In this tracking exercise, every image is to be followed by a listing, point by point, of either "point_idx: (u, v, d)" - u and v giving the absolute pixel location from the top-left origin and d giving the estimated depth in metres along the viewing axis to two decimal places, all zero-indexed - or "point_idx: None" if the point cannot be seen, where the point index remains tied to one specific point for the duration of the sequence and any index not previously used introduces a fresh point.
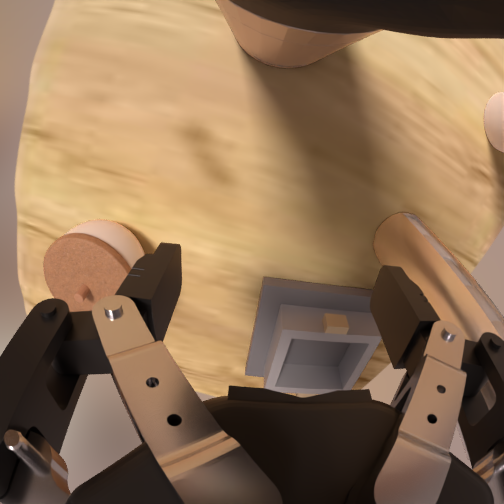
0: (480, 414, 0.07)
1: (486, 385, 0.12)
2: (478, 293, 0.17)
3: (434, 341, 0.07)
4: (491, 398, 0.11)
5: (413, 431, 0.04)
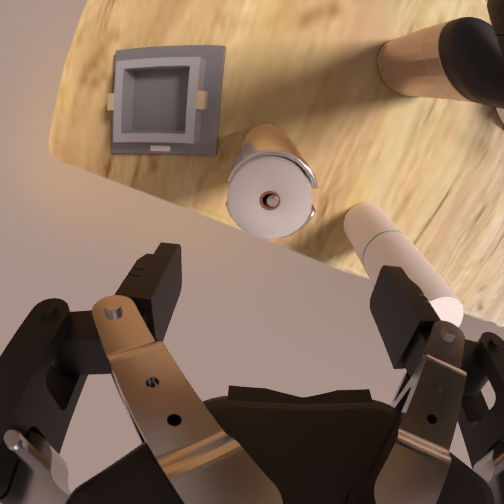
0: (480, 414, 0.07)
1: (296, 152, 0.22)
2: None
3: (434, 341, 0.07)
4: (297, 153, 0.21)
5: (413, 431, 0.04)
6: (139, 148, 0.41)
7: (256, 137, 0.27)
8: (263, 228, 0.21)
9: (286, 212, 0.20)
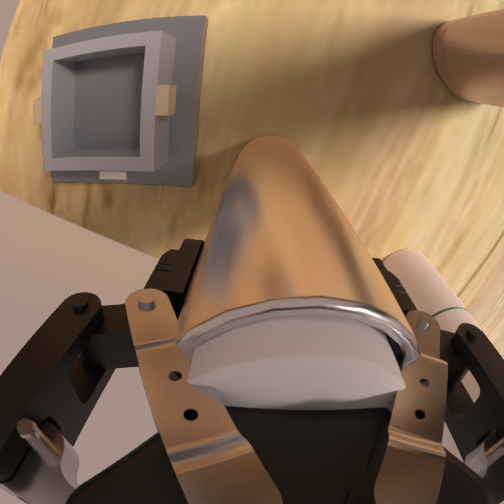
0: (464, 405, 0.07)
1: (360, 249, 0.08)
2: None
3: None
4: (369, 265, 0.07)
5: (403, 429, 0.04)
6: (85, 175, 0.27)
7: (253, 179, 0.13)
8: None
9: None
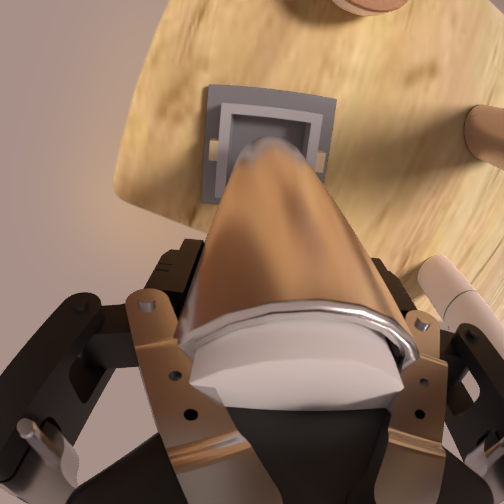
0: (464, 405, 0.07)
1: (360, 252, 0.08)
2: None
3: None
4: (369, 268, 0.07)
5: (403, 429, 0.04)
6: None
7: (253, 181, 0.13)
8: None
9: None
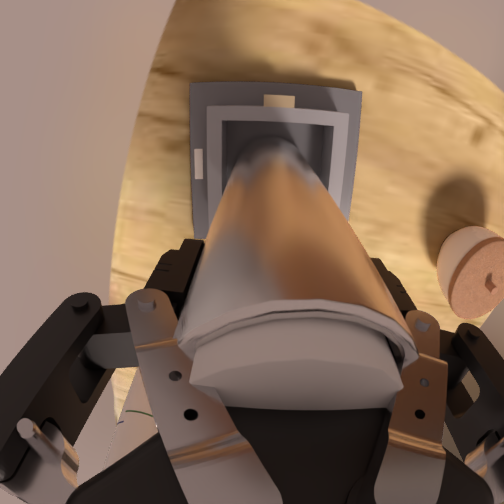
0: (464, 405, 0.07)
1: (360, 252, 0.08)
2: None
3: None
4: (369, 267, 0.07)
5: (403, 429, 0.04)
6: (197, 130, 0.27)
7: (253, 181, 0.13)
8: None
9: None
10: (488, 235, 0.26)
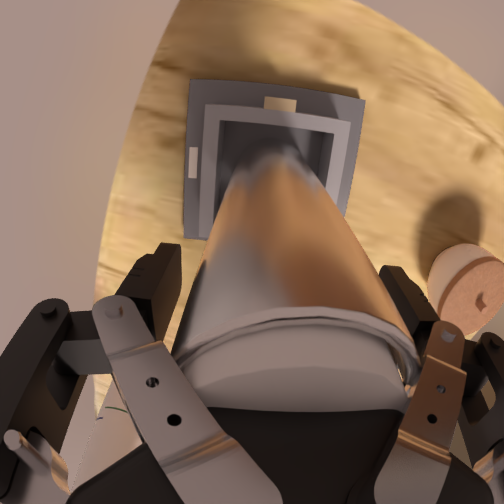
0: (480, 414, 0.07)
1: (361, 256, 0.08)
2: None
3: (434, 341, 0.07)
4: (370, 273, 0.07)
5: (413, 431, 0.04)
6: (194, 128, 0.26)
7: (254, 184, 0.13)
8: None
9: None
10: (482, 255, 0.26)
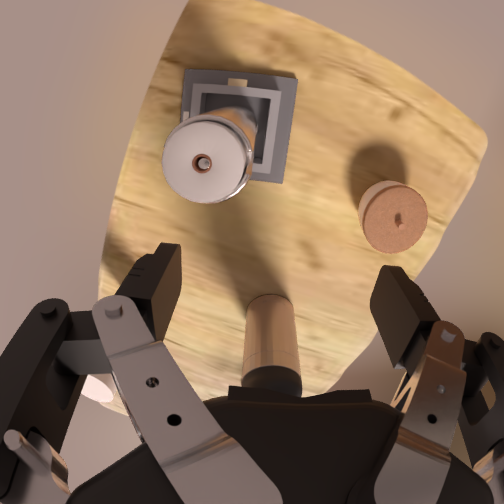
0: (480, 414, 0.07)
1: (237, 119, 0.22)
2: None
3: (434, 341, 0.07)
4: (236, 120, 0.21)
5: (413, 431, 0.04)
6: (186, 99, 0.39)
7: None
8: (197, 191, 0.20)
9: (218, 175, 0.20)
10: (396, 184, 0.40)
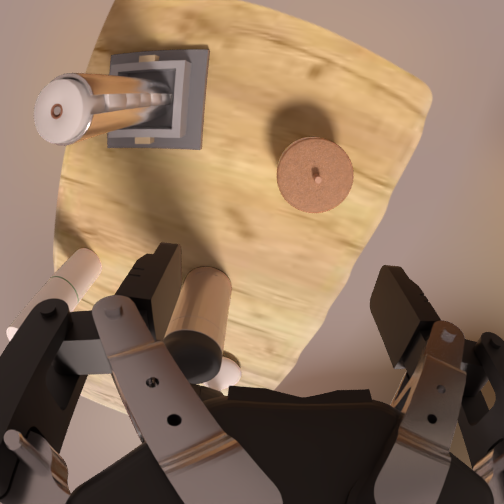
0: (480, 414, 0.07)
1: (97, 76, 0.21)
2: (137, 105, 0.29)
3: (434, 341, 0.07)
4: (91, 75, 0.20)
5: (413, 431, 0.04)
6: None
7: None
8: (55, 134, 0.20)
9: (66, 118, 0.19)
10: (311, 137, 0.39)
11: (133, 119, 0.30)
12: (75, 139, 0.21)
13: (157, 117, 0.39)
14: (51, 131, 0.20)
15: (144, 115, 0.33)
